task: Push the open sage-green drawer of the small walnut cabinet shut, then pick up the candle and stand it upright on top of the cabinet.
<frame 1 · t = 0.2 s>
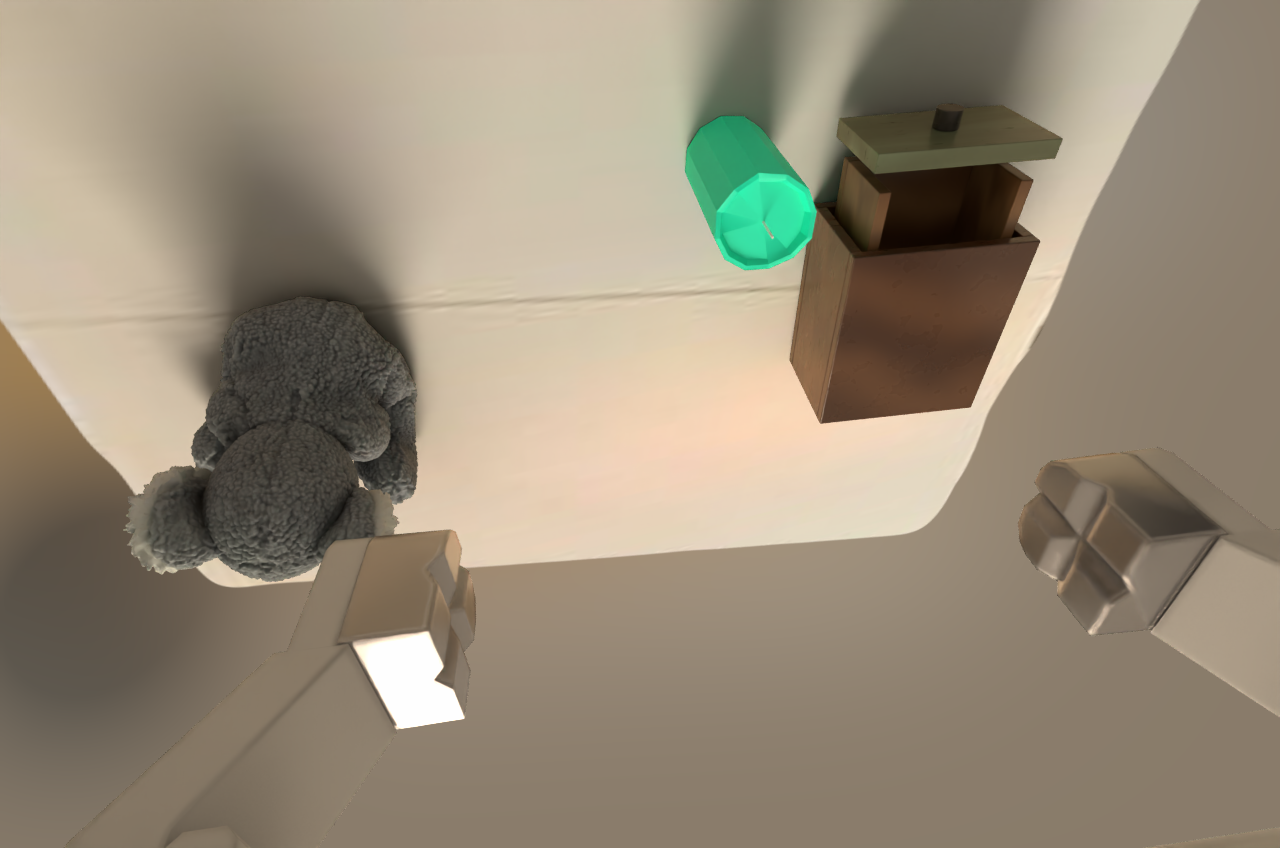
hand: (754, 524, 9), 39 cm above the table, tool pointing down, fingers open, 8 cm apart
drawer: (919, 220, 44), point 4 cm above the table, slide at 5.0 cm
koala plush: (327, 374, 53), on the table
cabinet: (874, 282, 52), on the table
candle: (726, 159, 44), on the table
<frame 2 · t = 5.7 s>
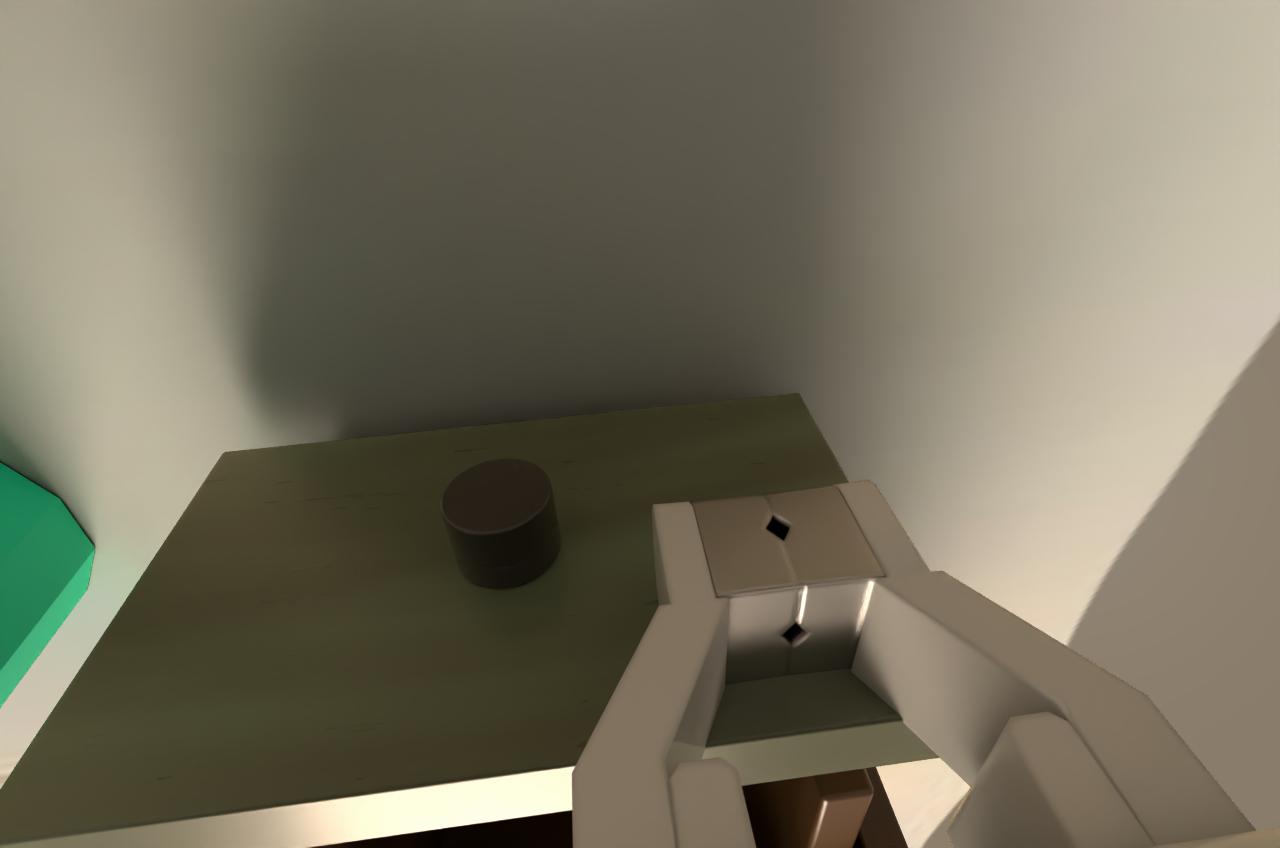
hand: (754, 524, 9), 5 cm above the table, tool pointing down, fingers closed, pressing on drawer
drawer: (558, 743, 13), point 4 cm above the table, slide at 4.5 cm, touching gripper
cabinet: (583, 716, 21), on the table
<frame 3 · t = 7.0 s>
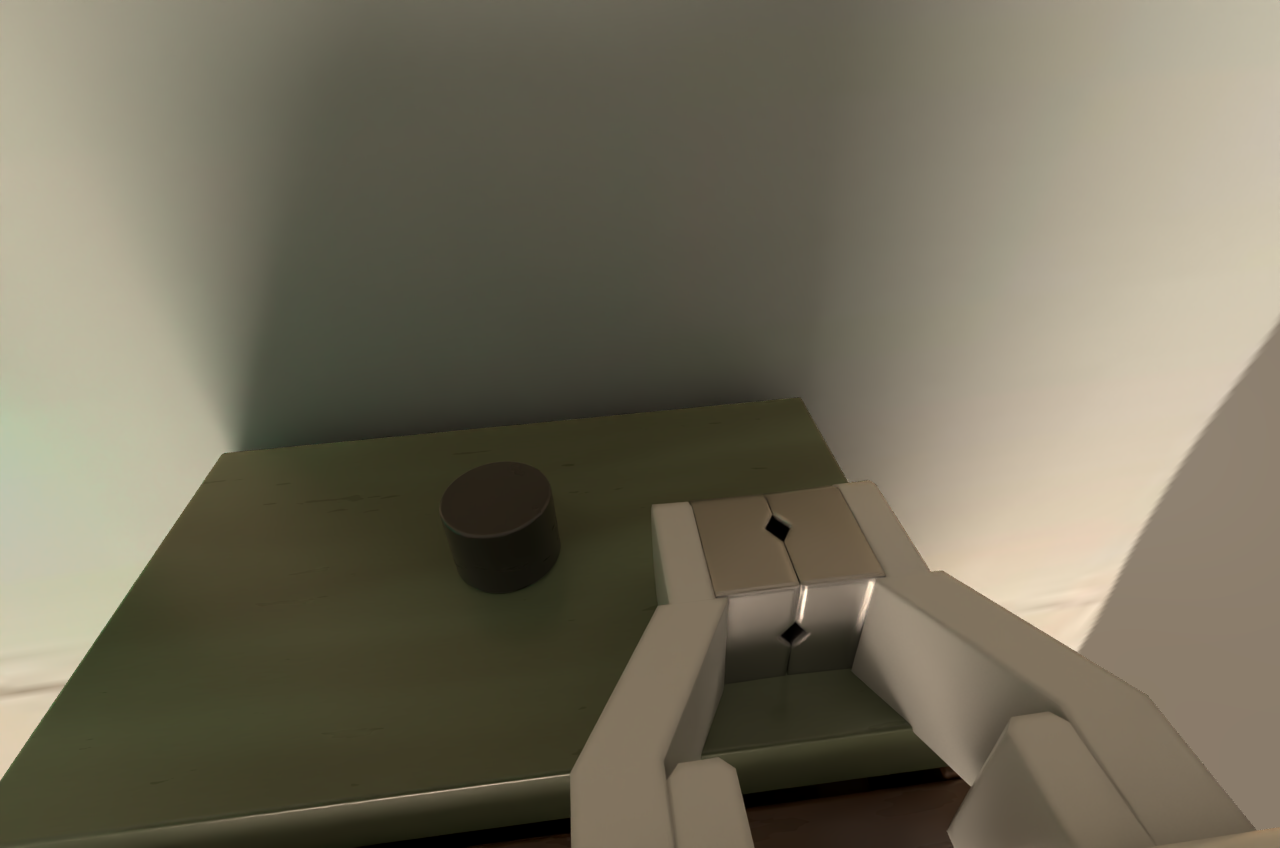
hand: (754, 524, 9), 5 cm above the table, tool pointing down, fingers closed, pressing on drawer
drawer: (557, 749, 13), point 4 cm above the table, slide at 0.0 cm, touching cabinet, gripper
cabinet: (566, 640, 18), on the table
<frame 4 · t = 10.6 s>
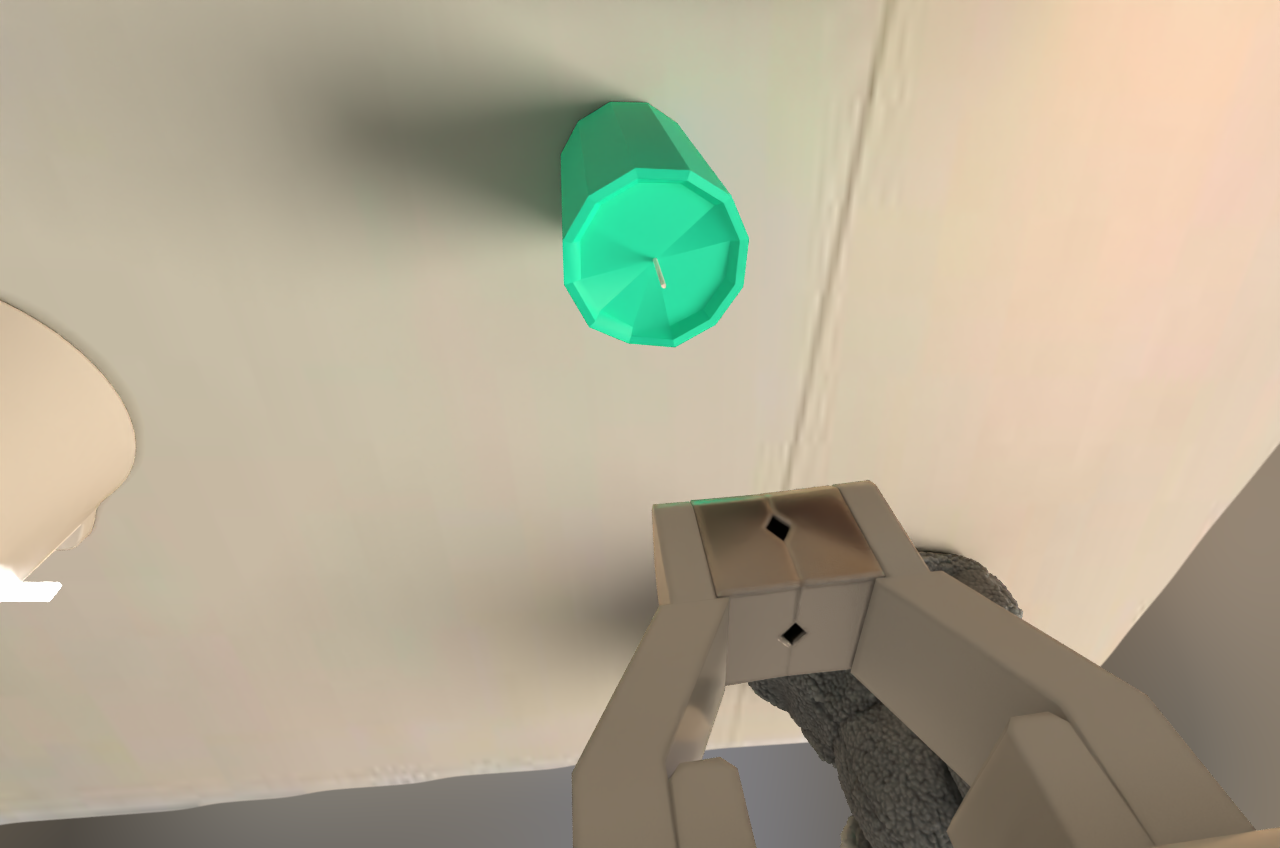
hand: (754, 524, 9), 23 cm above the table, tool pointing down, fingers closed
koala plush: (837, 603, 49), on the table
candle: (626, 173, 28), on the table
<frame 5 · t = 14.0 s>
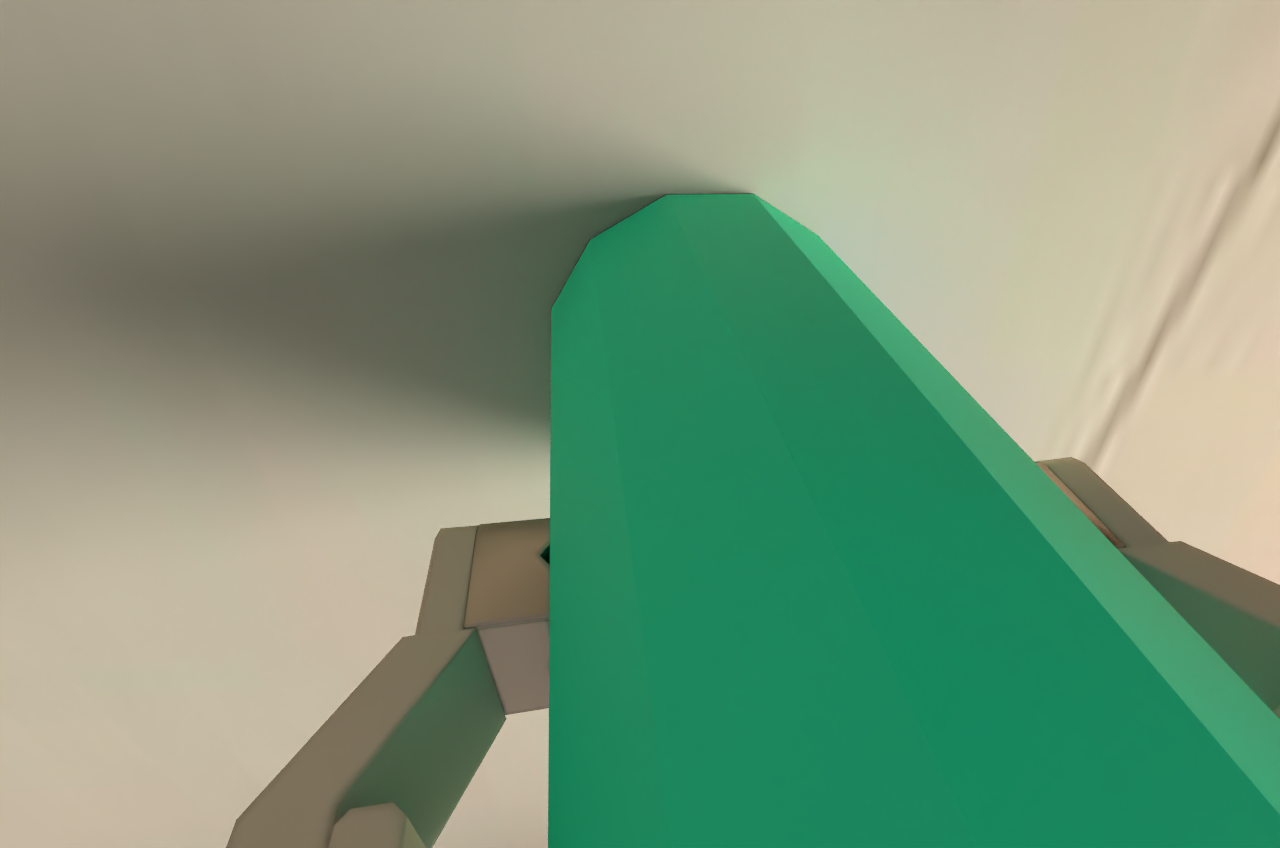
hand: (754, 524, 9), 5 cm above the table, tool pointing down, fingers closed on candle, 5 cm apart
candle: (695, 335, 13), on the table, touching gripper
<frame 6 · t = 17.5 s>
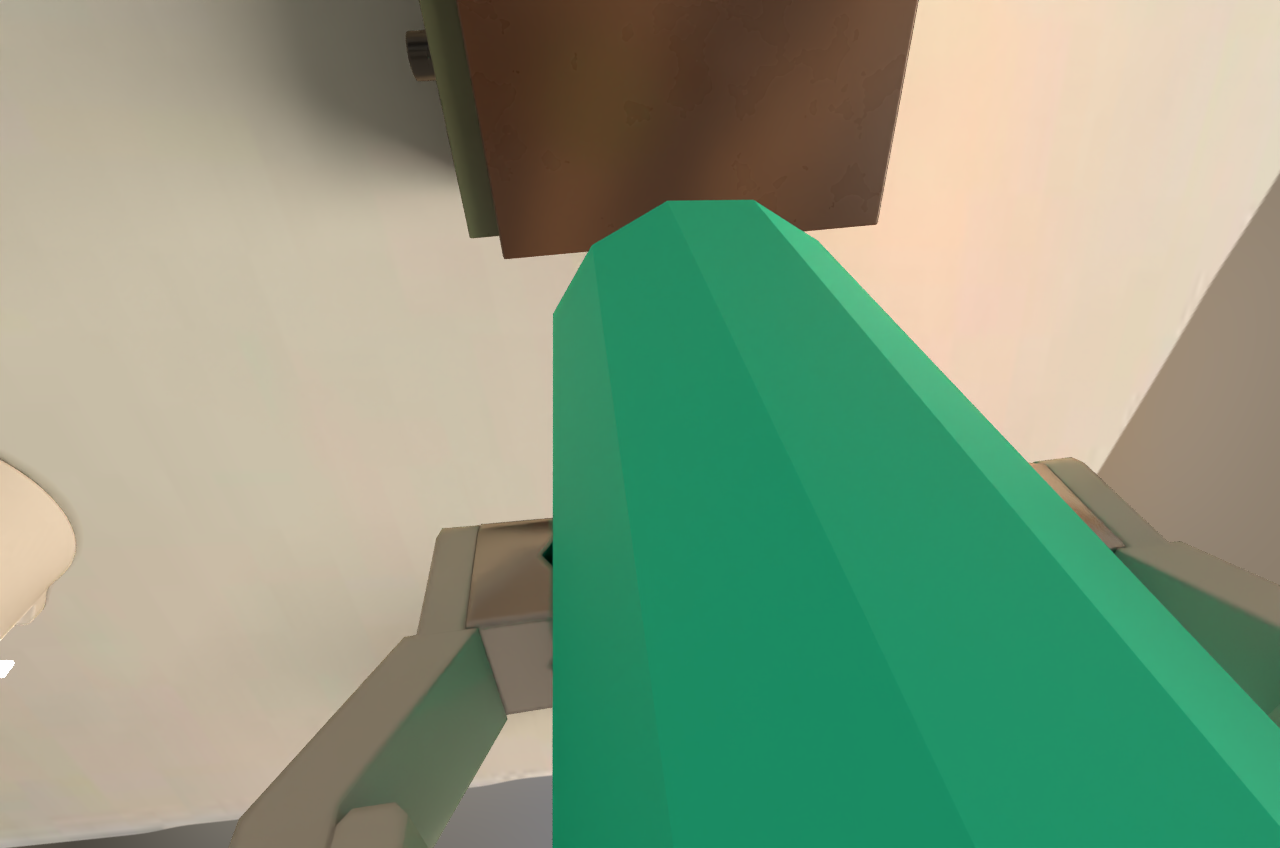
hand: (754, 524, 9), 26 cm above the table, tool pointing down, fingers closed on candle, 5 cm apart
drawer: (611, 43, 24), point 4 cm above the table, slide at 0.0 cm, touching cabinet
cabinet: (656, 27, 27), on the table
candle: (696, 339, 13), point 20 cm above the table, touching gripper
when the fingers open (14 cm above the table, at t = 21.2 s): candle stays where it is, resting on cabinet.
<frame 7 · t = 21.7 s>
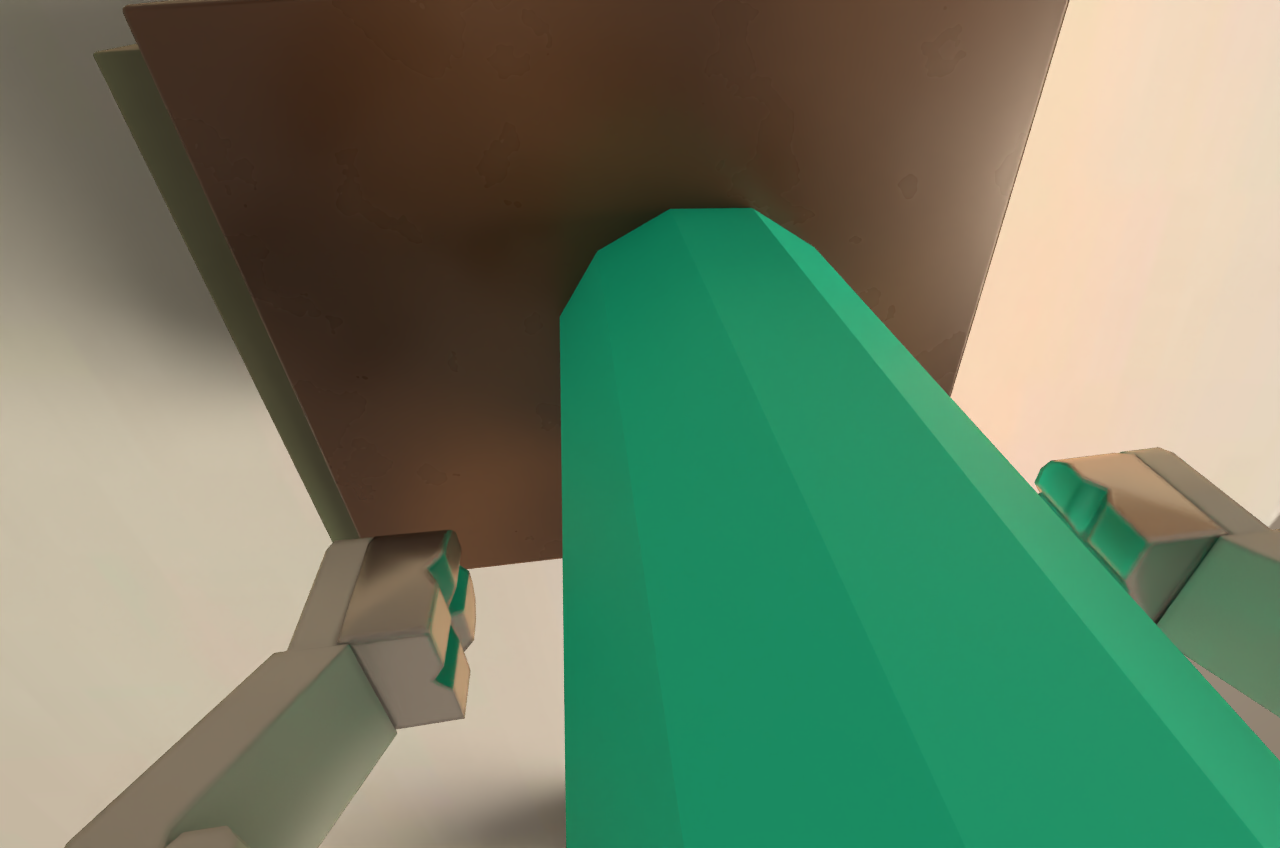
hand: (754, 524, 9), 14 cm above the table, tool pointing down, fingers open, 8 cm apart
drawer: (535, 272, 16), point 4 cm above the table, slide at 0.0 cm, touching cabinet
cabinet: (612, 212, 20), on the table
candle: (697, 341, 13), point 8 cm above the table, touching cabinet
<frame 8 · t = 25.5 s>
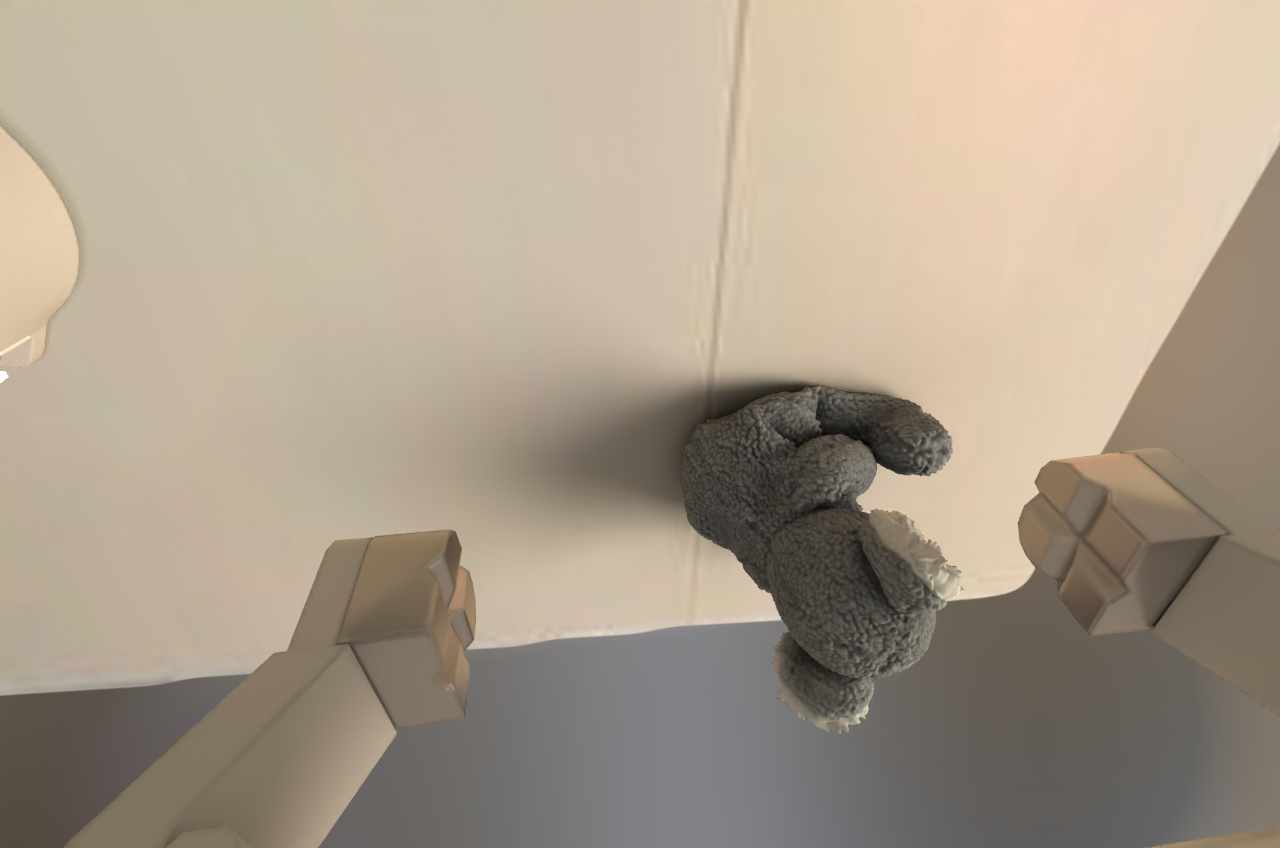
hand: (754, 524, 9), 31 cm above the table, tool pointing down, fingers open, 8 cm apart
koala plush: (781, 455, 50), on the table
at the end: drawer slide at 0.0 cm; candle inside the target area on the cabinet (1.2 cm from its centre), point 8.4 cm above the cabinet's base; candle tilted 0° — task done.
